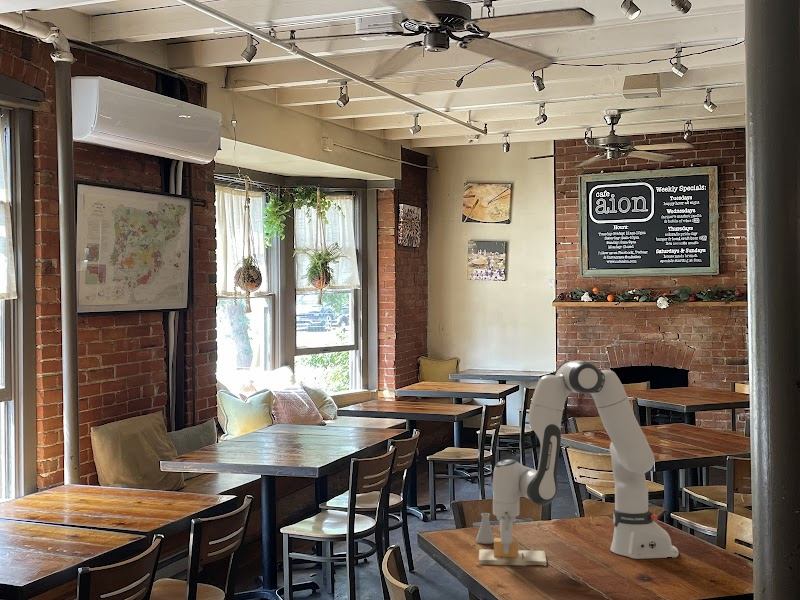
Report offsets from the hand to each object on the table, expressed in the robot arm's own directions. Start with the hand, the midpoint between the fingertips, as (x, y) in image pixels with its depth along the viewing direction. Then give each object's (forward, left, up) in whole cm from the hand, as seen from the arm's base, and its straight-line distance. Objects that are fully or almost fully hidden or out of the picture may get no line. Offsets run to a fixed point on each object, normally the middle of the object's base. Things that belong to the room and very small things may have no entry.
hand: (506, 550), depth 311 cm
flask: (+7, -21, -3) cm, 22 cm away
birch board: (-2, 0, -3) cm, 4 cm away
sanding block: (0, 0, -2) cm, 2 cm away
